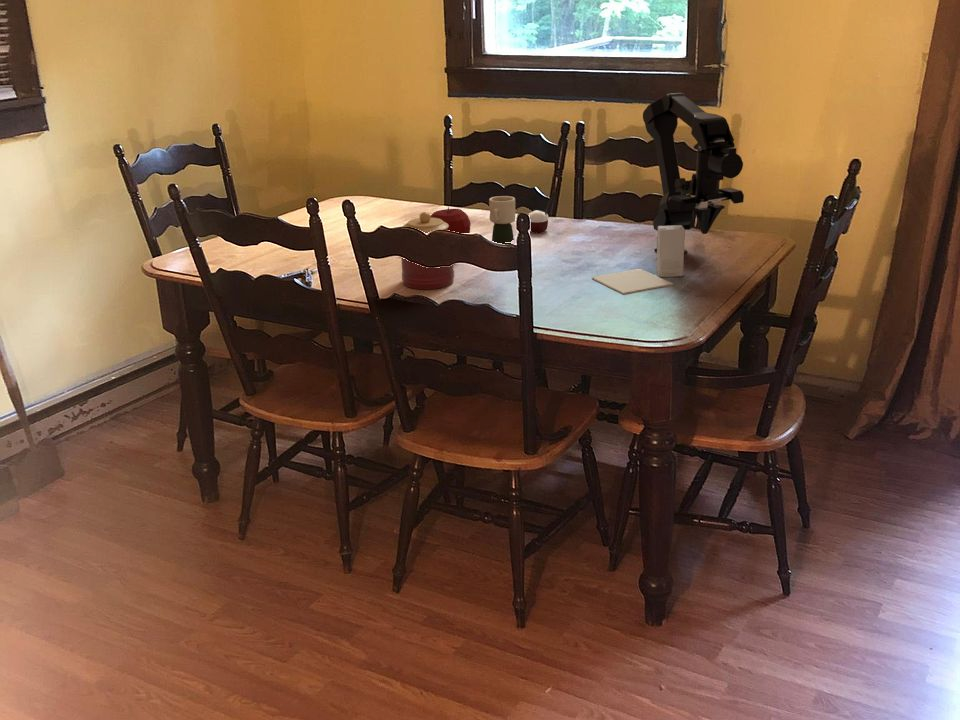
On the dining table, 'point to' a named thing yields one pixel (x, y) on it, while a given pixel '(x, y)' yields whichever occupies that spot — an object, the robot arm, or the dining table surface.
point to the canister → (424, 276)
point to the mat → (631, 281)
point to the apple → (454, 219)
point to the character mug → (502, 218)
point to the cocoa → (540, 219)
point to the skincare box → (670, 250)
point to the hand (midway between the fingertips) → (704, 233)
